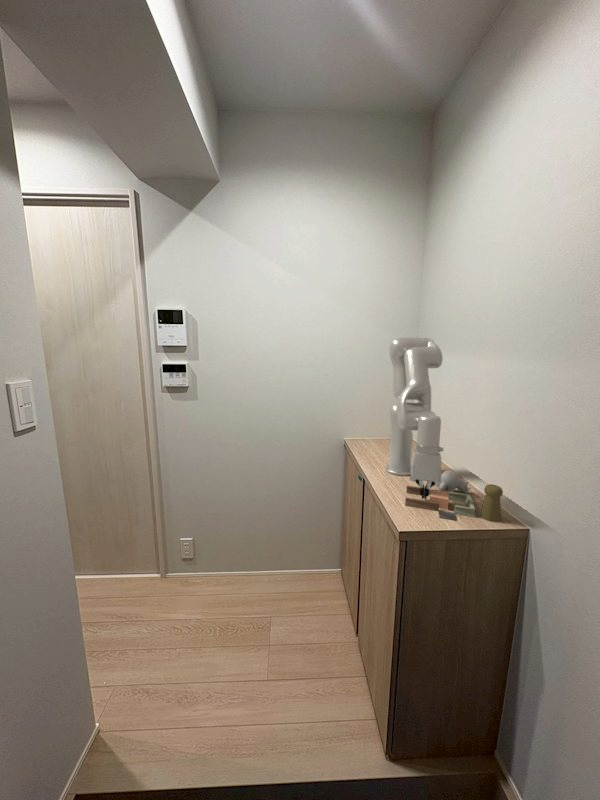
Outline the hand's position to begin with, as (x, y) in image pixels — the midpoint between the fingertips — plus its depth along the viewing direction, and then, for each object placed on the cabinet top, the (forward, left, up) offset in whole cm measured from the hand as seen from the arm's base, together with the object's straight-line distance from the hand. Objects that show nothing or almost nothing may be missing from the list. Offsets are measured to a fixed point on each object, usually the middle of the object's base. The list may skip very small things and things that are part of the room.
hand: (423, 497), depth 118 cm
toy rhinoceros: (-12, +11, -2) cm, 16 cm away
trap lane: (0, +5, -1) cm, 5 cm away
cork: (+4, +21, -2) cm, 21 cm away
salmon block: (+1, +5, -2) cm, 5 cm away
